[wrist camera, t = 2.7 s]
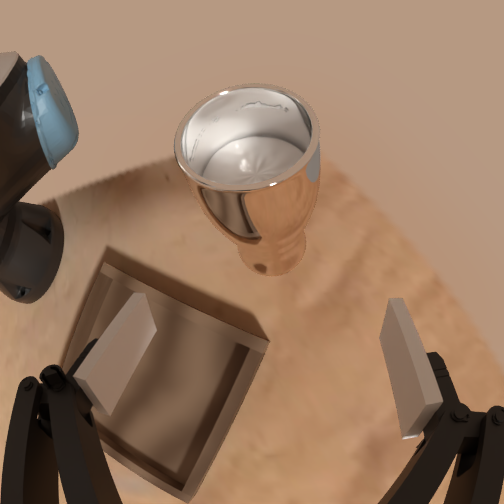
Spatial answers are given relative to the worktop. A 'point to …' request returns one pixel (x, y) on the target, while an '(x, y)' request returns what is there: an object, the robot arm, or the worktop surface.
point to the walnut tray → (170, 385)
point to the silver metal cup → (254, 170)
